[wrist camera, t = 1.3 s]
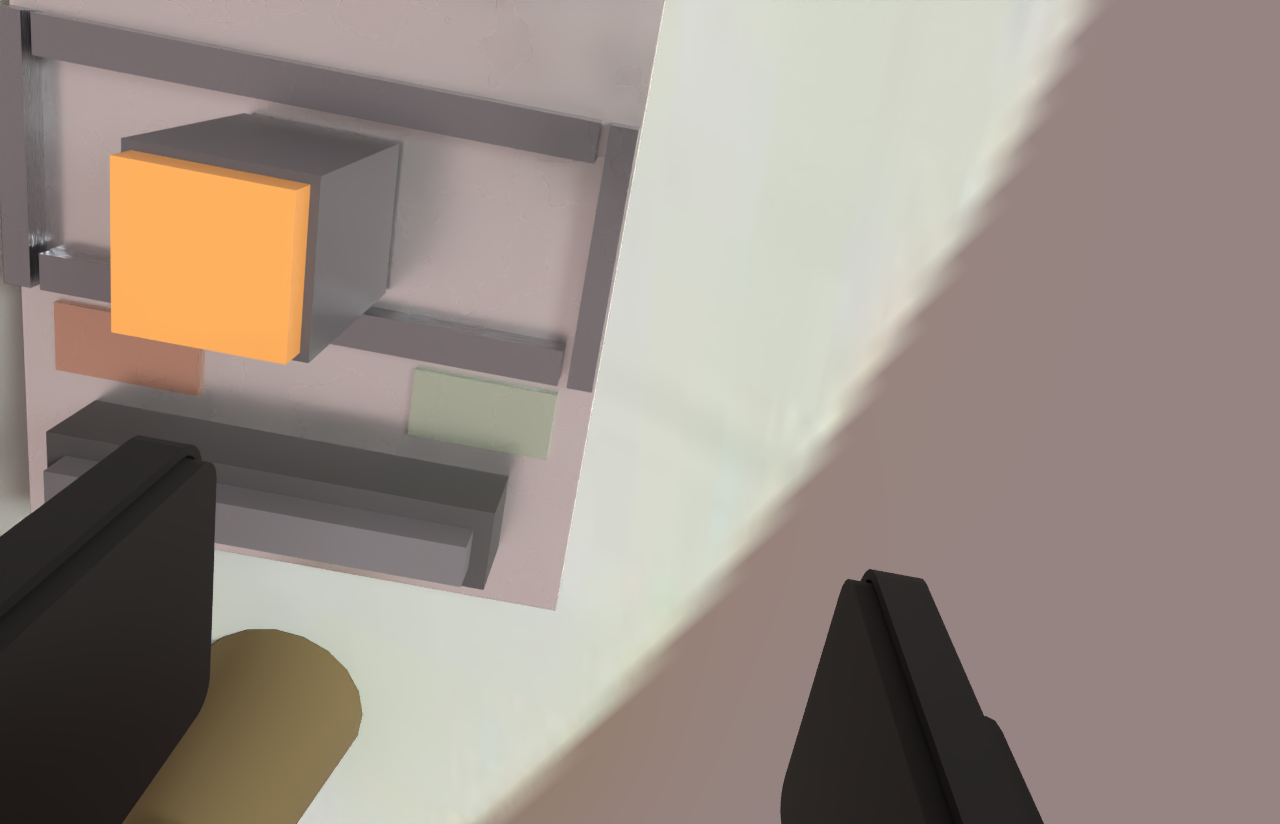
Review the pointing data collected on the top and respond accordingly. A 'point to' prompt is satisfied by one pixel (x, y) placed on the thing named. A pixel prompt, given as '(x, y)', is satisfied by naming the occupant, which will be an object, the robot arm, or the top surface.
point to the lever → (249, 235)
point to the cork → (257, 735)
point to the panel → (420, 237)
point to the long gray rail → (312, 494)
